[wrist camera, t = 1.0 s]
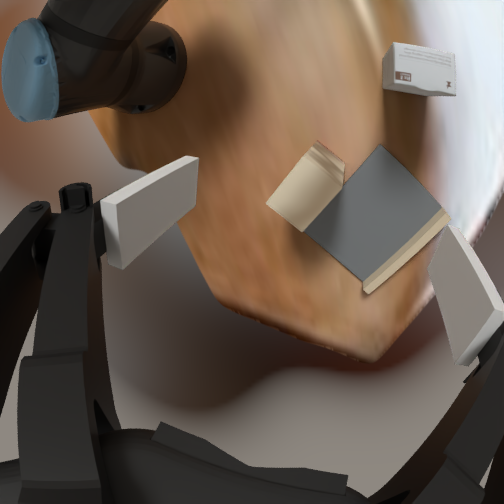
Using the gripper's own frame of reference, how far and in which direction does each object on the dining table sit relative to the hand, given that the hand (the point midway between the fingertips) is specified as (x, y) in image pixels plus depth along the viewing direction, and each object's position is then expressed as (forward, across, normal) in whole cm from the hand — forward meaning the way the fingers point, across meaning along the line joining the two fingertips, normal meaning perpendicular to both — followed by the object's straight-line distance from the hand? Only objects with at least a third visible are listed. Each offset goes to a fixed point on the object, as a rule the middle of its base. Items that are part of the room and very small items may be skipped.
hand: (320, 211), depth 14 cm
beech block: (+25, -1, -4) cm, 25 cm away
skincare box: (+25, +7, +10) cm, 28 cm away
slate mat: (+24, +8, -9) cm, 27 cm away
